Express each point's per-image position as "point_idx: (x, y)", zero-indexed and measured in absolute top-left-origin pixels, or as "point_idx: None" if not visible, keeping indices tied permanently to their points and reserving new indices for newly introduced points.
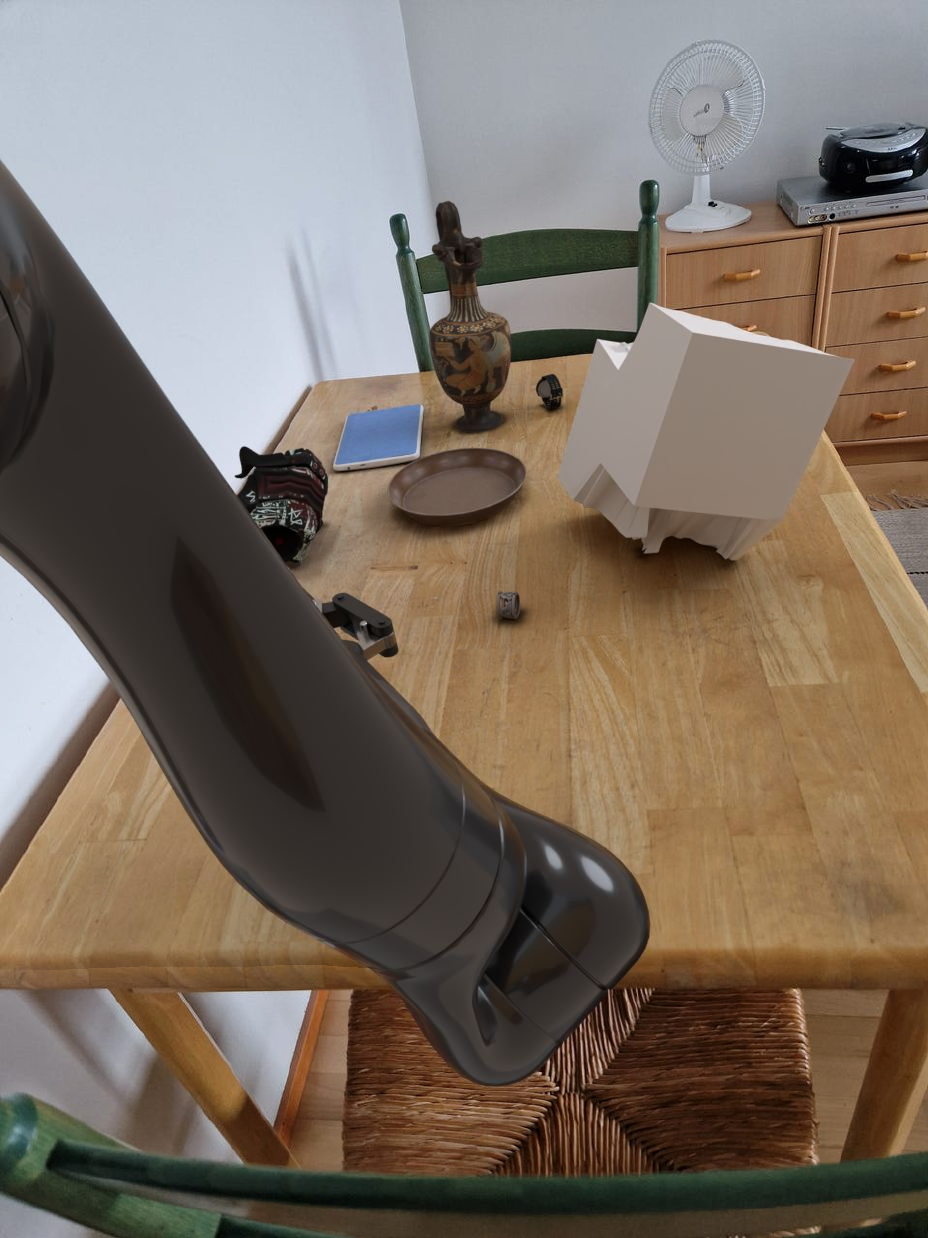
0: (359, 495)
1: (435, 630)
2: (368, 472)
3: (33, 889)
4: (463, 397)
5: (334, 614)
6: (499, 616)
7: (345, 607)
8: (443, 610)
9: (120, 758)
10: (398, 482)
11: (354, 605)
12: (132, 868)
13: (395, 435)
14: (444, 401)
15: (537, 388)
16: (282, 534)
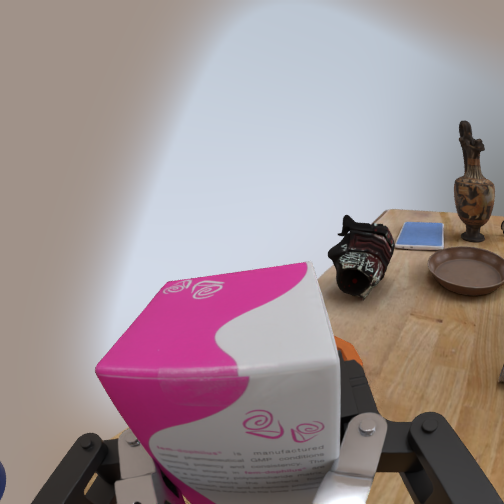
0: (407, 263)
1: (450, 381)
2: (414, 252)
3: None
4: (469, 220)
5: (401, 456)
6: (500, 381)
7: (434, 466)
8: (458, 363)
9: None
10: (433, 259)
11: (454, 463)
12: None
13: (430, 235)
14: (453, 225)
15: (502, 225)
16: (357, 276)
